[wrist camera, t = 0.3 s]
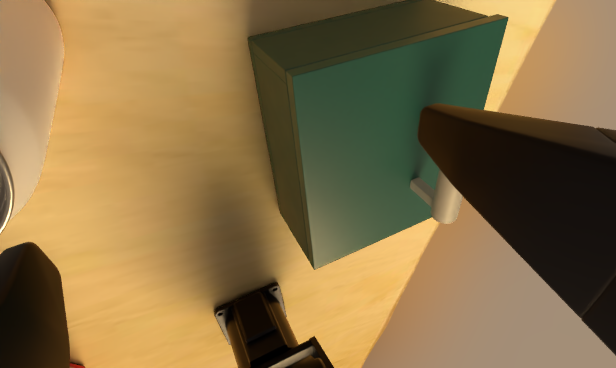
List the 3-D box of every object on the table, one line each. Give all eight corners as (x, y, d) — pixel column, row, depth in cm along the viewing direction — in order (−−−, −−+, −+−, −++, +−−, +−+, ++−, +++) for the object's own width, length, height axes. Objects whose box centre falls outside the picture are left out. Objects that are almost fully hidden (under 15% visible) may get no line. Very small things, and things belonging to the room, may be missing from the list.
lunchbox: (421, -4, 24) (488, 15, 20) (402, 165, 33) (444, 202, 29) (246, 37, 20) (284, 69, 16) (279, 212, 30) (309, 261, 26)
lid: (497, 13, 20) (576, 35, 17) (450, 199, 29) (495, 237, 26) (285, 70, 16) (332, 112, 13) (309, 262, 26) (340, 314, 22)
